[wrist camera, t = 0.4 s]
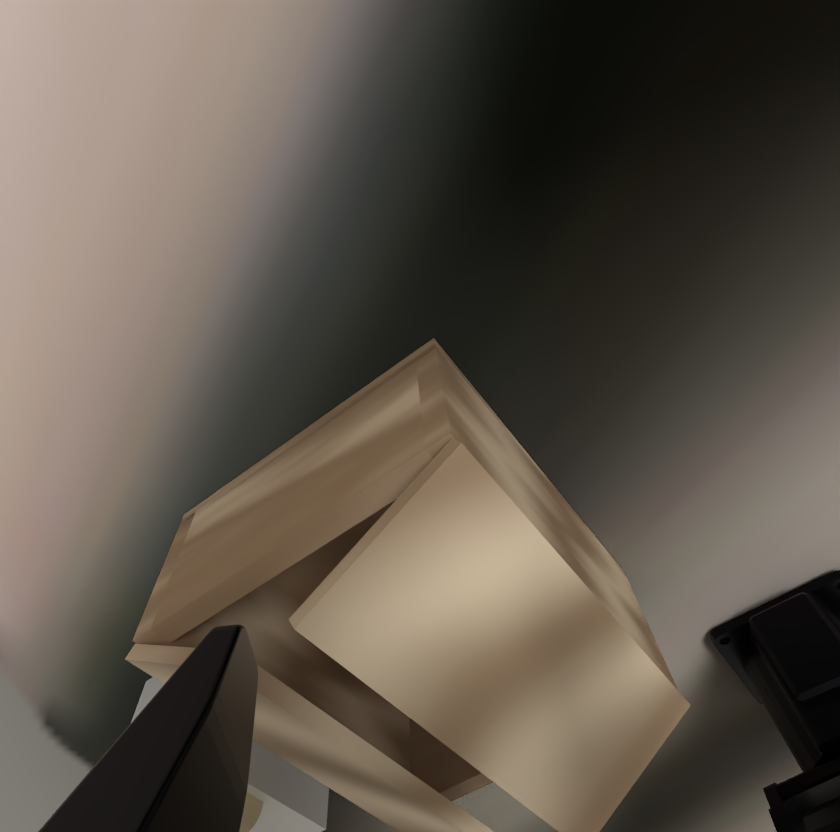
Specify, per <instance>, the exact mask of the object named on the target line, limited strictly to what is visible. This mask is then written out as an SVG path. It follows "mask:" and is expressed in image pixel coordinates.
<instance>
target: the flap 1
mask: <svg viewBox="0 0 840 832" xmlns="http://www.w3.org/2000/svg"><path fill="white" fill-rule="evenodd" d="M194 649H195V648H192V647H177V646H162V645H147V644H135V645H134V646H133V648H132V649H131V651H130V652H129V654H128V655H127V657H126V658H125V660H127V661H129V662H130V663H132V664H133V665H135V666H136V667H138V668H140V669H141V670H143V671H144V672H146V673H148V674H149V675H151V676H152V677H154V678H156V679H157V680H159V681H160V682H162V683H163V684H165V683H166V682H167V681H168V679H169V678H170V677H171V676H172V675H173V673H174V672H175V671H176V670H177V669H178V668H179V666H180V665H181V664H182V663H183V662H184V661H185V659H186V658H187V657H188V656H189V655H190V654H191V652H192V651H193V650H194ZM257 666H258V665H257ZM252 740H254V741H256V742H257V743H259V744H260V745H262V746H264V747H265V748H267V749H268V750H270V751H271V752H273V753H275V754H276V755H278V756H279V757H281V758H283V759H284V760H286V761H287V762H289V763H291V764H292V765H294V766H295V767H297V768H298V769H300V770H302V771H303V772H305V773H306V774H308V775H310V776H311V777H313V778H314V779H316V780H318V781H319V782H321V783H322V784H324V785H325V786H327V787H329V788H330V789H332V790H333V791H335V792H337V793H338V794H340V795H341V796H343V797H345V798H346V799H348V800H349V801H351V802H352V803H354V804H356V805H357V806H359V807H360V808H362V809H364V810H365V811H367V812H368V813H370V814H372V815H373V816H375V817H376V818H378V819H379V820H381V821H383V822H384V823H386V824H387V825H389V826H391V827H392V828H394V829H395V830H397V831H399V832H494V831H492V830H491V829H490V828H488V827H487V826H485V825H484V824H482V823H481V822H480V821H478V820H477V819H475V818H474V817H473V816H471V815H470V814H468V813H467V812H465V811H464V810H463V809H461V808H460V807H458V806H457V805H455V804H454V803H453V802H451V801H450V800H448V799H447V798H446V797H444V796H443V795H441V794H440V793H438V792H437V791H436V790H434V789H433V788H431V787H430V786H429V785H427V784H426V783H424V782H423V781H421V780H420V779H419V778H417V777H416V776H414V775H413V774H411V773H410V772H409V771H407V770H406V769H404V768H403V767H402V766H400V765H399V764H397V763H396V762H394V761H393V760H392V759H390V758H389V757H387V756H386V755H385V754H383V753H382V752H380V751H379V750H377V749H376V748H375V747H373V746H372V745H370V744H369V743H367V742H366V741H365V740H363V739H362V738H360V737H359V736H358V735H356V734H355V733H353V732H352V731H350V730H349V729H348V728H346V727H345V726H343V725H342V724H341V723H339V722H338V721H336V720H335V719H333V718H332V717H331V716H329V715H328V714H326V713H325V712H323V711H322V710H321V709H319V708H318V707H316V706H315V705H314V704H312V703H311V702H309V701H308V700H306V699H305V698H304V697H302V696H301V695H299V694H298V693H297V692H295V691H294V690H292V689H291V688H289V687H288V686H287V685H285V684H284V683H282V682H281V681H279V680H278V679H277V678H275V677H274V676H272V675H271V674H270V673H268V672H267V671H265V670H264V669H262V668H261V667H260V666H258V687H257V697H256V707H255V717H254V728H253V738H252Z"/></svg>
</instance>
